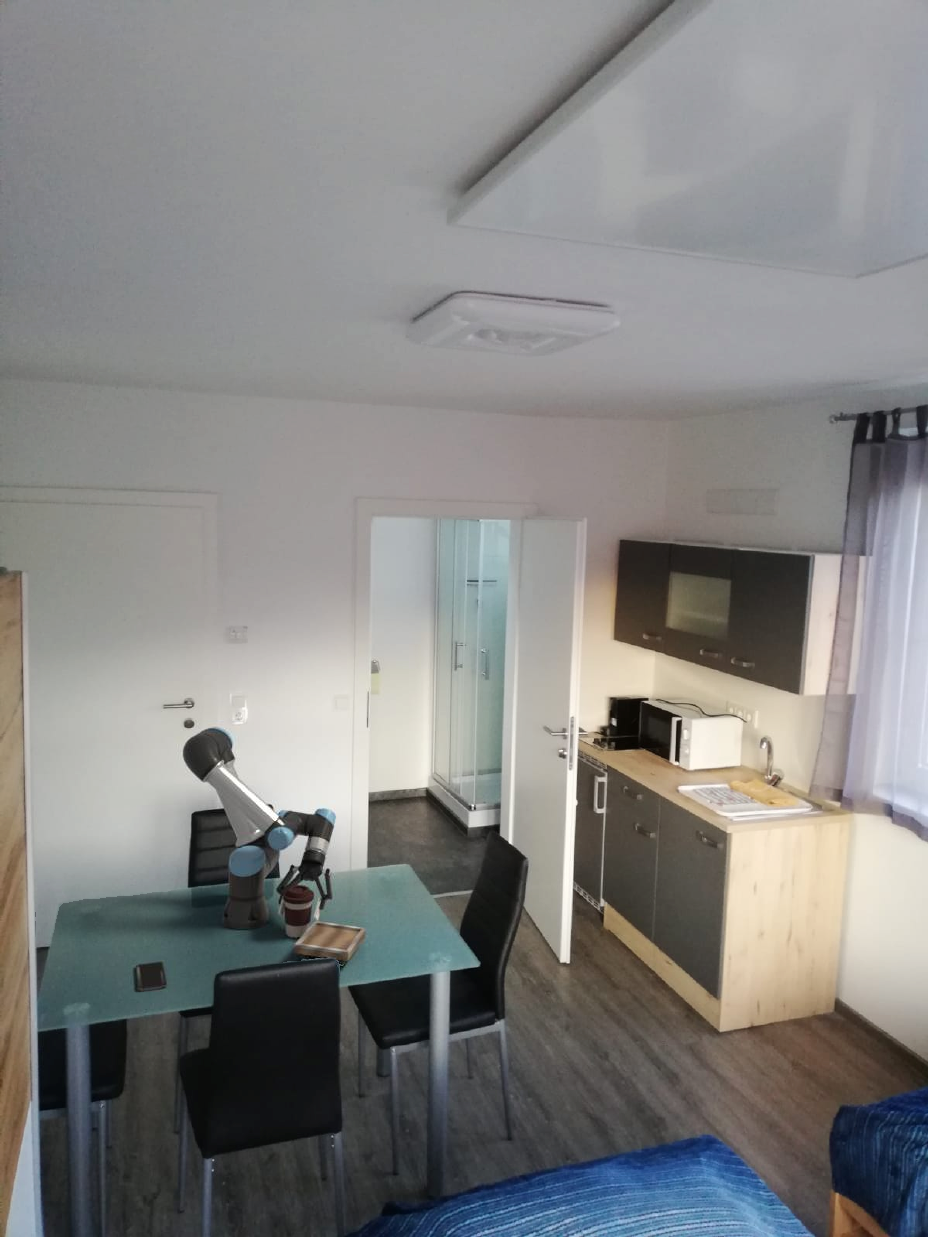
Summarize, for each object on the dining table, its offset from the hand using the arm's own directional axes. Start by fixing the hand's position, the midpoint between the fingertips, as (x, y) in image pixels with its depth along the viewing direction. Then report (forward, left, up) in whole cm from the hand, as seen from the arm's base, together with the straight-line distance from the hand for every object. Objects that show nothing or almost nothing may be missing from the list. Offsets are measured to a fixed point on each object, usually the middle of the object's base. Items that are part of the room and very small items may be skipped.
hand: (297, 917), depth 287 cm
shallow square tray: (+14, -8, -7) cm, 17 cm away
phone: (-30, -37, -7) cm, 48 cm away
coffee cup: (-1, +2, -7) cm, 7 cm away
